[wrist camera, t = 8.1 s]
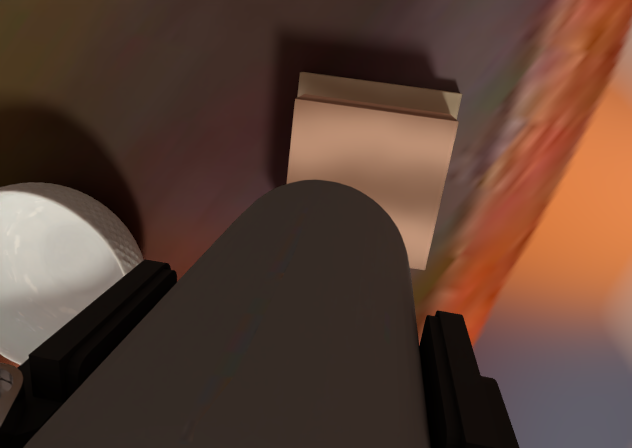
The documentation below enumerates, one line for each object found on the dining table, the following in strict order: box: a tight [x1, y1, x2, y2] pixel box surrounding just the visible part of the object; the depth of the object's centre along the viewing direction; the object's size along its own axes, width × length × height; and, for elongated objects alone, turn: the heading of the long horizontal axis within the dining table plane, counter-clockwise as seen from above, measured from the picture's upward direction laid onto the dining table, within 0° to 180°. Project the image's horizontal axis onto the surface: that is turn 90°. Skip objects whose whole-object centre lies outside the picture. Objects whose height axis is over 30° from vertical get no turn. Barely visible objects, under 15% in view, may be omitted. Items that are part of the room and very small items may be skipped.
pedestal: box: [287, 72, 462, 270], centre depth 36 cm, size 14×12×5 cm
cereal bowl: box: [0, 182, 143, 365], centre depth 41 cm, size 17×17×7 cm
